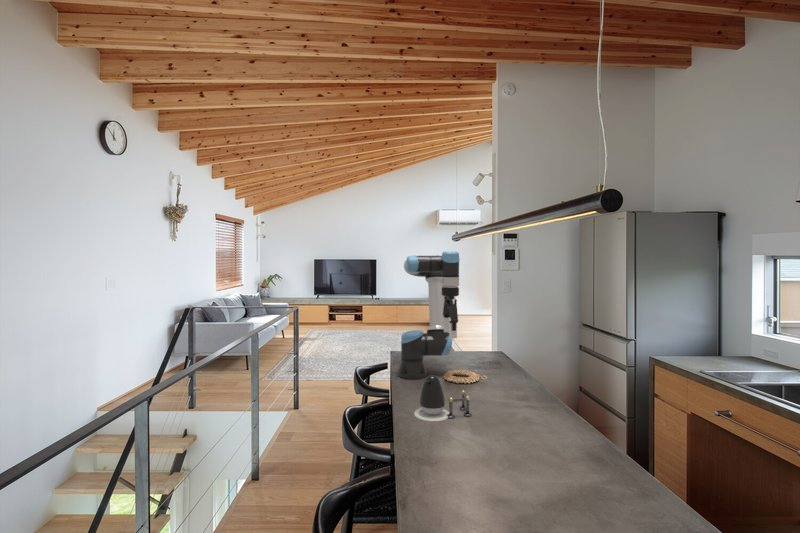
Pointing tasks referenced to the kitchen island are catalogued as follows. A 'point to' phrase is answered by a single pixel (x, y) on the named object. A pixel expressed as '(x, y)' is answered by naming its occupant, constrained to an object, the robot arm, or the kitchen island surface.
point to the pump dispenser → (432, 396)
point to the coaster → (431, 416)
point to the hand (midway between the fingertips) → (450, 335)
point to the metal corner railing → (463, 399)
